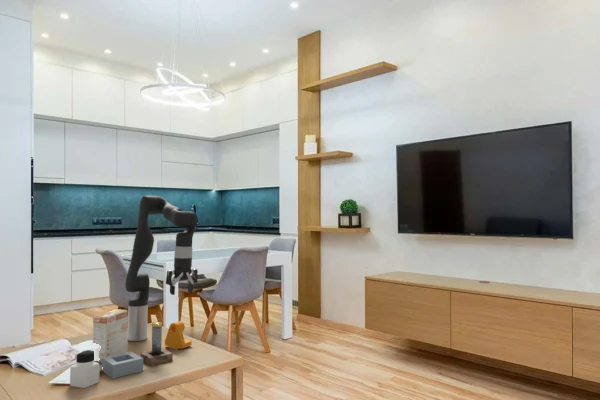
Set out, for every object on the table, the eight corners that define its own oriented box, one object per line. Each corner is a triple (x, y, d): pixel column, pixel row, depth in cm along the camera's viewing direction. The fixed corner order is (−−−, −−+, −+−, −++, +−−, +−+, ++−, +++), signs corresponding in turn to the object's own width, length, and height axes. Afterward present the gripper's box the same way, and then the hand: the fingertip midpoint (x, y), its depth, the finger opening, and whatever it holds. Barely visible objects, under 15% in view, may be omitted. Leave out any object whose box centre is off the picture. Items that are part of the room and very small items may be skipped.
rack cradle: (101, 370, 181) (101, 357, 181) (130, 363, 189) (131, 351, 189) (112, 378, 172) (113, 365, 172) (143, 370, 180) (143, 358, 180)
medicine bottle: (99, 382, 168) (100, 349, 168) (84, 388, 161) (85, 355, 162) (84, 379, 170) (85, 347, 171) (69, 386, 164) (70, 353, 164)
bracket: (192, 346, 215) (192, 321, 215) (181, 350, 208) (182, 324, 209) (175, 343, 220) (175, 318, 220) (164, 347, 213) (165, 321, 214)
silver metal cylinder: (149, 360, 194) (150, 323, 194) (158, 358, 196) (159, 321, 197) (153, 362, 191) (154, 324, 191) (163, 360, 193) (163, 323, 194)
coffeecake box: (114, 351, 206) (115, 308, 207) (128, 352, 204) (128, 309, 205) (91, 361, 191) (92, 315, 192) (105, 363, 189) (106, 316, 190)
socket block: (140, 359, 194) (140, 353, 194) (161, 355, 201) (161, 348, 201) (150, 365, 186) (150, 358, 187) (172, 360, 193) (172, 353, 193)
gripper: (192, 255, 203) (190, 290, 203) (164, 256, 193) (162, 293, 193) (201, 256, 198) (200, 293, 198) (173, 258, 188) (170, 296, 187)
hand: (181, 293), depth 195 cm, fingers open, 8 cm apart
